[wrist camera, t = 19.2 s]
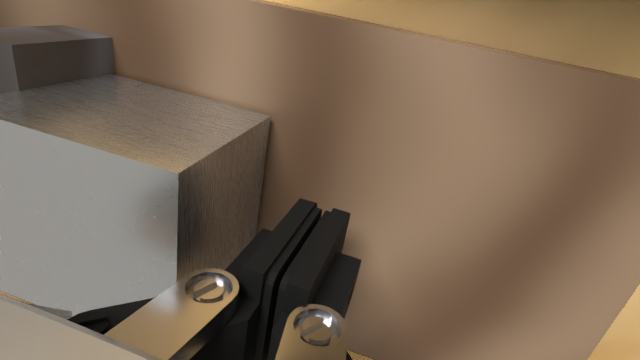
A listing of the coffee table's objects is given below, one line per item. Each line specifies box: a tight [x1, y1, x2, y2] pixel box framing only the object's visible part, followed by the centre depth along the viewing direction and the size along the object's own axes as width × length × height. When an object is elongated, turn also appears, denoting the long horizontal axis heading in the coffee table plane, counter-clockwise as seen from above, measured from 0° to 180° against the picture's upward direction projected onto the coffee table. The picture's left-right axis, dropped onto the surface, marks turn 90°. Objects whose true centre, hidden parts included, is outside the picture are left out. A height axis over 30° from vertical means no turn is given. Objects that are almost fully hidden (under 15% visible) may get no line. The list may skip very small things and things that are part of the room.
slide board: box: [0, 0, 640, 360], centre depth 13 cm, size 23×12×5 cm, turn 79°
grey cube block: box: [0, 74, 271, 317], centre depth 12 cm, size 6×6×5 cm
